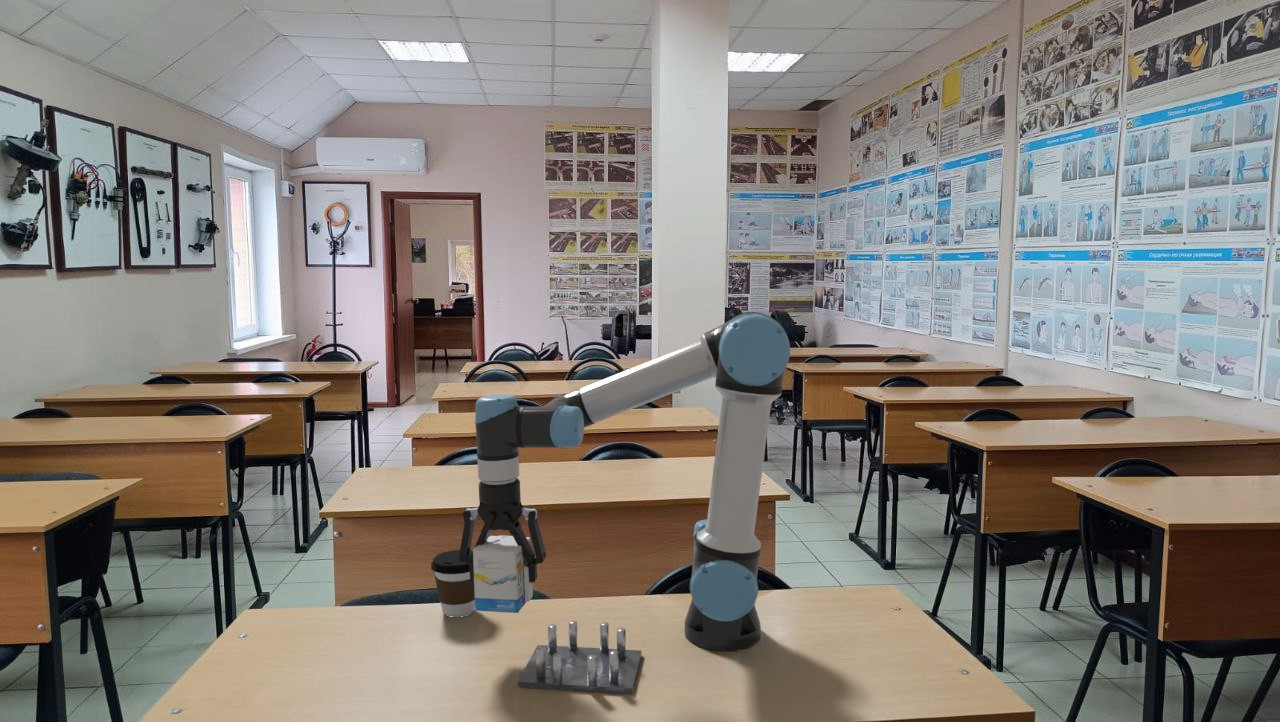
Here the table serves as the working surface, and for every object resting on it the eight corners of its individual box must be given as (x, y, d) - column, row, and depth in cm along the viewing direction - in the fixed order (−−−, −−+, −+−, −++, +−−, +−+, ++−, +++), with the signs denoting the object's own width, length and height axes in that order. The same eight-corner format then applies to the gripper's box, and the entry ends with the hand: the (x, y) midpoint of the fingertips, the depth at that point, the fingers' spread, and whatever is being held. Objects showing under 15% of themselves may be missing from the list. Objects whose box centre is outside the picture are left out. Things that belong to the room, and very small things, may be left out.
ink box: (518, 613, 141) (515, 550, 140) (474, 611, 143) (471, 548, 142) (533, 595, 150) (531, 535, 149) (492, 593, 151) (489, 533, 150)
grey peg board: (641, 654, 148) (641, 624, 147) (631, 695, 133) (631, 661, 133) (538, 648, 150) (537, 618, 150) (517, 688, 136) (516, 655, 135)
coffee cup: (467, 626, 160) (466, 569, 159) (421, 618, 164) (419, 563, 162) (494, 605, 170) (492, 551, 169) (450, 599, 174) (448, 546, 173)
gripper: (560, 474, 147) (565, 591, 149) (450, 474, 149) (456, 589, 151) (551, 484, 139) (556, 607, 141) (435, 484, 142) (441, 604, 144)
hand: (504, 597), depth 146 cm, fingers closed on ink box, 9 cm apart
